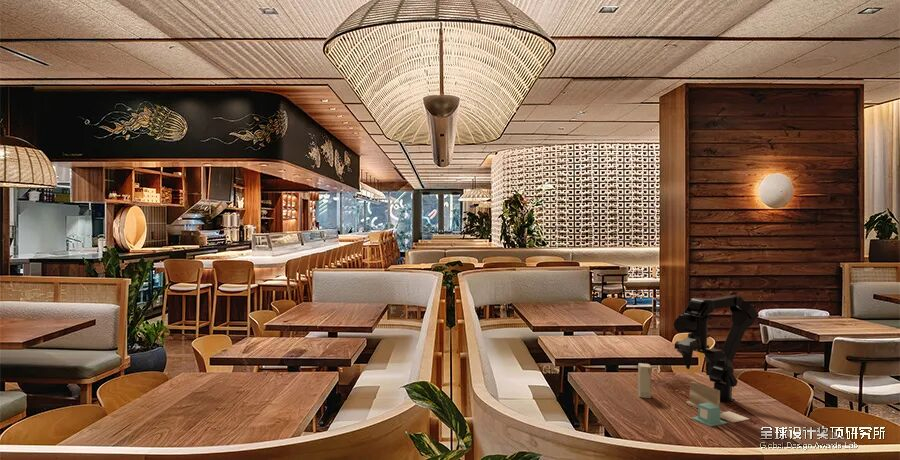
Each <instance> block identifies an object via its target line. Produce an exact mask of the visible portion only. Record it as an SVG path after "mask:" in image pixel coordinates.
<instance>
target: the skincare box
mask: <svg viewBox="0 0 900 460" xmlns="http://www.w3.org/2000/svg"><path fill="white" fill-rule="evenodd" d="M637 366H638V367H637V370H638V371H637V395H638V397H639V398H645V399H647V398H648V399H651V398H652V365H651V364H649V363H641V362H639V363H638V365H637Z"/></svg>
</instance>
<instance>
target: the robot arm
mask: <svg viewBox="0 0 900 460" xmlns="http://www.w3.org/2000/svg"><path fill="white" fill-rule="evenodd" d="M725 308H728V310H729V312H730V313H731V314H730V315H731V316H730V317H731V318H730V319H731V323H732V325H731V326H730V329H729V332H728V334H727V337H726V339H725V342H724V343H723V346H722V348H721V349H719V348H718V349H717V348H710V345H708V338H709V339H710V336H711V335H710V334H708V323H709V321H711V320H713V318H712V317H711V316H710V314H712V313H714V311H715V310H719V309H725ZM757 317H758V312H757V311H756V308H754V307H753V305H751V304H750V303H748V302H747V301H745V300H744V299H743V298H742V296H740V295H736V294H728V295H724V296H719V297H711V298H702V297H700V298H699V297H693V298H690V301H689V302H688V304H687V306H686V308H685V309H684V311H683V313H682V314H681V313H680V314H678V317H677V318H675V320H674V322H673V328H674V330H675V331H676V332H677V333H679V334H683V333H688V334H687V338H683V339H682V340H677V341H676V340H675V341H676V342H674V349H675V350H676V351H677V352H678V353H679V354H680V355H681V356H682V358H683V362H684V364H685V367H686V370H689V369H690V368H691V364H692V359H693V353H694V352H697V353H700V354H704V356H705V357H703V359H704V361H705V376H708V379H709V381H710V382H713V388H714V389H717V390H720V402H723V403H726V402H727V403H728V402H734V401H736V399H735V398H733V397H732V396H733V395H732V393H733V392H732V391H733V388H734V387H737V384H738V382H739V381H738V379H737V378H736V376H735V375H734V370H735V368H734V364H733V361H734V359H735V356H736V353H737V352H738V350H739V348H740V347H739V346H740V344H741V342H742V339H743V337H744V334H745V332H746V330H747V329H748V328H749V327H751V326H752V325H754V322H755V321H756V320H757Z"/></svg>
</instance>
